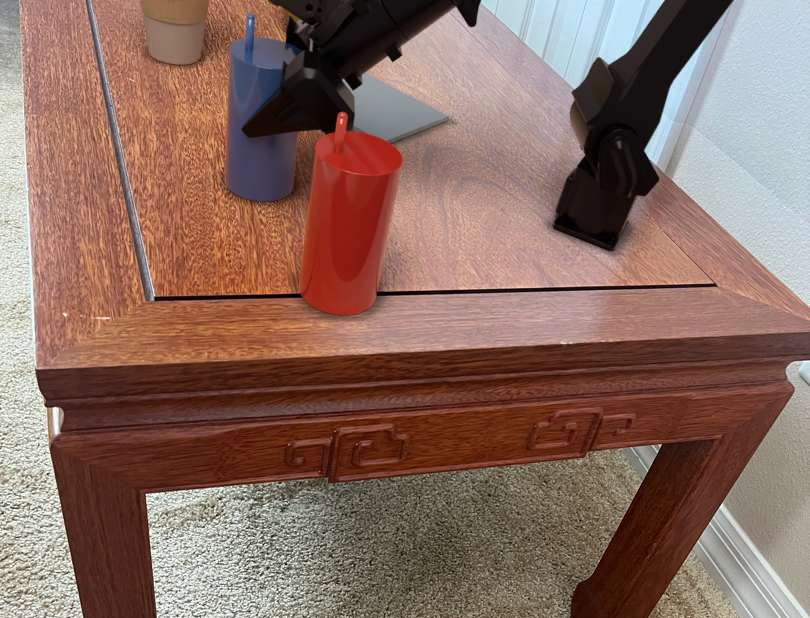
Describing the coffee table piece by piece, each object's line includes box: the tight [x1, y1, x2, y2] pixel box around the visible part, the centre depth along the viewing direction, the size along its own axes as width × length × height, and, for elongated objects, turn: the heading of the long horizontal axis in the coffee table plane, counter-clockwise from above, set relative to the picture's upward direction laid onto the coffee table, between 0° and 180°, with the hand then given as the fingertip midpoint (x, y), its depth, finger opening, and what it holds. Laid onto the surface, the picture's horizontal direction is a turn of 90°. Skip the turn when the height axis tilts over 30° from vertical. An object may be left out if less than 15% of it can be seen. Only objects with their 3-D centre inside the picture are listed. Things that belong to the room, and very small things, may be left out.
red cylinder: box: [298, 112, 404, 316], centre depth 62 cm, size 6×6×16 cm
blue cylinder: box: [223, 12, 302, 203], centre depth 72 cm, size 6×6×15 cm
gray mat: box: [342, 72, 449, 144], centre depth 94 cm, size 14×12×1 cm
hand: (247, 115), depth 73 cm, fingers closed on blue cylinder, 6 cm apart
